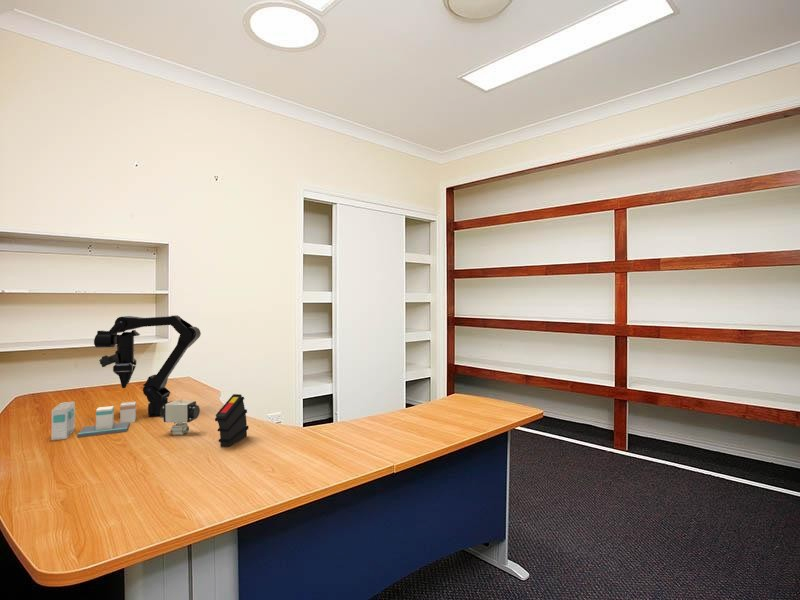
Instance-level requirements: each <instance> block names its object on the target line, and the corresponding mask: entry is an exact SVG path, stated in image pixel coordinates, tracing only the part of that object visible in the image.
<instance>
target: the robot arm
mask: <svg viewBox="0 0 800 600" xmlns="http://www.w3.org/2000/svg"><path fill="white" fill-rule="evenodd" d="M159 326H171V327H172V328H173V329H174V330H175V332H177V333H178V334H179V336H178V339H177V344H176V345H175V347H174V348H173V350H172V352H171V353H170V354H169V356H168V357H167V358H166V360H165V362H164V363H163V365H162V367H161V368H160V369H159V370H158V372H157V373H156V374H152V375H150V376H149V377H147V380H146V382H145V383H144V384H142V386H143V387H142V392H143V395H144V396H145V397H146V398H147V402H148V403H147V415H148V417H150V418H152V417H161V416H160V410H161V408H162V406H163V405H164V404H166V403H168V402H169V400H168V399H169V397H170V395H171V391H170V390H169V389H168V388H166V386H167V384H168V381H169V380H168V379H169V376H170V375H171V373H172V372H173V371H174V369H175V368H176V366H177V365H178V363H179V362H180V361H181V358H182V357H183V356H184V354H185V353H186V351H187V350H188V349H189V348H190V347H191V346H192V345H193V344H195V342H197V340H199V338H201V335H202V333H201V330H200V329H199V328H198V327H197V326H193V325H192V324H191V323H189V322H187V321H186V320H184V319H183V318H181V317H180V315H176V314H174V315H170V316H169V315H168V316H167V315H166V316H152V317H140V316H131V315H127V316H119V317H117V318H116V319H115V321H114V324H113V326H112V327H111V328H110V329H109V330H97V332H96V333H97V334H96V335H95V336H94V339H93V345H94V346H95V348H98V349H99V348H100V349H102V348H103V349H104V348H106V349H107V348H108V349H109V348H114V347H115V346H116V350H115V353H113V354H111V355H107V354H106V355H103V356H101V358H100V359H99V360H98V361H99V365H100V366H101V367H102V368H105V367H107V366H110V365H113V364H114V365H113V366H112V372H113V373H114V374H116V375H117V376H118V378H119V382H120V384H121V388H122V389H126V388H127V385H128V384H129V383H130V381H131V378H132V376H133V374H134V371H135V370H136V367H137V359H136V358H135V356H134V355H135V337H138V336H140V335H141V333H139V332H138V331H137V330H136V329H140V328H143V327H159ZM120 333H121V334H120Z"/></svg>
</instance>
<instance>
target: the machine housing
mask: <svg viewBox="0 0 800 600" xmlns="http://www.w3.org/2000/svg"><path fill="white" fill-rule="evenodd" d="M75 408H76V401H65V402H60V403H59V404H57V405H56V406H55V407H53V409H51V441H58V440H59V441H60V440H67V439H68V438H69V436H71V434H72V433H73V432H74V431H75V427H76V426H75V425H76V409H75Z"/></svg>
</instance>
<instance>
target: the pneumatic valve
mask: <svg viewBox="0 0 800 600" xmlns="http://www.w3.org/2000/svg"><path fill="white" fill-rule="evenodd" d="M200 410H201V409H200V405H198V404H197V401H196V400H195V401H193V400H191V401H190V400H182V398H179V399H178V400H170V401H168V403H166V404H164V405H163V406H162V408H161V410H160V416H159V417H161V418H162V420H163V423H173V425H172V426H170V427H171V428H170V432H171V434H172V435H173V436H183V435H185V434H187V433H189V430H190V426H189V425H188V424H189V423H191V422H193V421H195V420H196V419H198V417H199V416H200V413H201V412H200Z"/></svg>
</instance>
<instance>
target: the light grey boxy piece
mask: <svg viewBox="0 0 800 600" xmlns="http://www.w3.org/2000/svg"><path fill="white" fill-rule="evenodd" d="M119 411H120V412H119V414H120V415H119V416H120V417H119V418H120V419H119V423H123V422H130V424H131V423H135V422H136V419H137V401H123V402H121V404H120V407H119Z"/></svg>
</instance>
